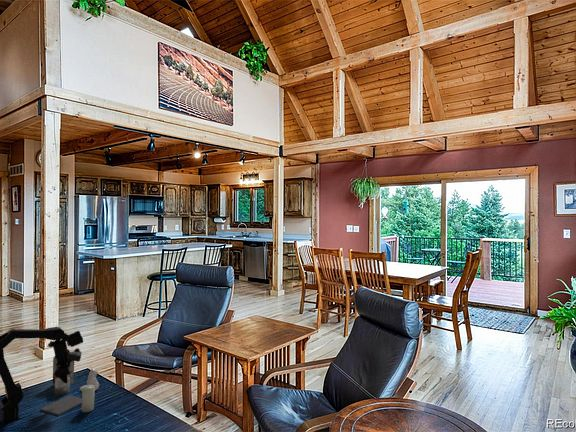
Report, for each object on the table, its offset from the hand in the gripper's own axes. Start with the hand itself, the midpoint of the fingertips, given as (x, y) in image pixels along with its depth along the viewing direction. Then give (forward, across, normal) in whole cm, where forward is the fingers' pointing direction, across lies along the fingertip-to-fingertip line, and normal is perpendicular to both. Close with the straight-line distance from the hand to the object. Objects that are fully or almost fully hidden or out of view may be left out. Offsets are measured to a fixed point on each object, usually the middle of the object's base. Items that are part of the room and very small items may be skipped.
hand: (67, 378), depth 191 cm
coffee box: (+14, +26, +8) cm, 30 cm away
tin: (+13, +13, +6) cm, 19 cm away
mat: (+12, -5, +3) cm, 13 cm away
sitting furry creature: (+16, +10, -7) cm, 20 cm away
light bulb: (+13, -14, -8) cm, 20 cm away
